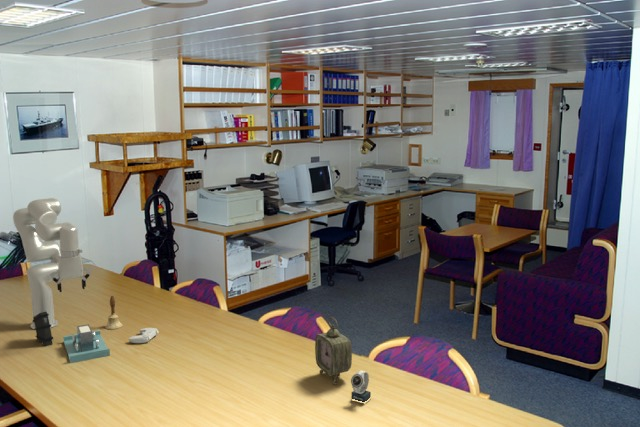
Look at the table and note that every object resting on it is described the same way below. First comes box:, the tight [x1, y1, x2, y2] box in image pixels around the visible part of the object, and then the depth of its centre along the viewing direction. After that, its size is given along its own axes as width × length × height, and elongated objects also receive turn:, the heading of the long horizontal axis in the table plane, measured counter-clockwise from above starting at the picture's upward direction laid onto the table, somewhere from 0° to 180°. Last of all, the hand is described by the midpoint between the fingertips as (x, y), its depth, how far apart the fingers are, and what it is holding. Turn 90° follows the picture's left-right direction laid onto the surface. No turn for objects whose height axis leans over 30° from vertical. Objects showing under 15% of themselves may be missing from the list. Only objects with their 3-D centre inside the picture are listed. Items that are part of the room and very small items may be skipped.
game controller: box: [128, 327, 160, 344], centre depth 270 cm, size 14×4×10 cm
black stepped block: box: [32, 311, 54, 347], centre depth 266 cm, size 4×13×15 cm, turn 46°
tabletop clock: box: [314, 317, 353, 385], centre depth 227 cm, size 14×9×25 cm, turn 29°
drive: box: [76, 324, 94, 352], centre depth 258 cm, size 12×5×8 cm, turn 30°
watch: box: [350, 369, 371, 402], centre depth 210 cm, size 6×8×11 cm
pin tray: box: [62, 329, 111, 364], centre depth 259 cm, size 26×16×5 cm, turn 30°
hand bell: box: [104, 295, 123, 330], centre depth 285 cm, size 8×8×16 cm
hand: (72, 289), depth 260 cm, fingers open, 9 cm apart
